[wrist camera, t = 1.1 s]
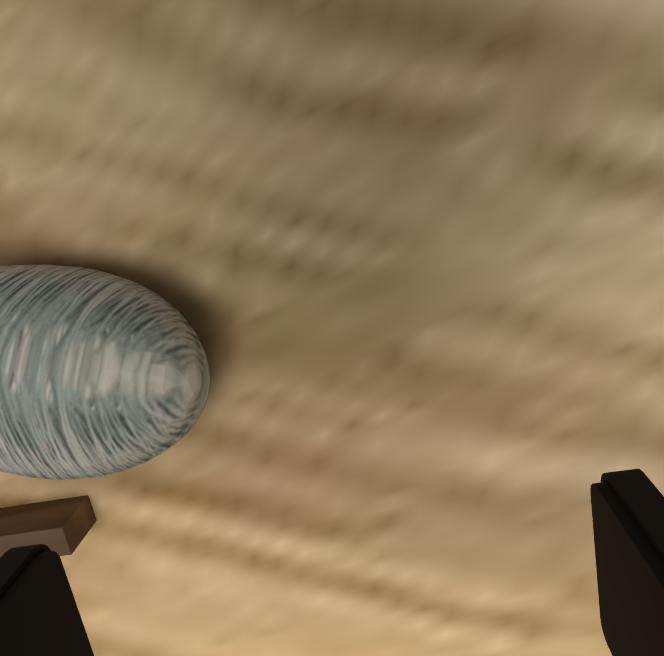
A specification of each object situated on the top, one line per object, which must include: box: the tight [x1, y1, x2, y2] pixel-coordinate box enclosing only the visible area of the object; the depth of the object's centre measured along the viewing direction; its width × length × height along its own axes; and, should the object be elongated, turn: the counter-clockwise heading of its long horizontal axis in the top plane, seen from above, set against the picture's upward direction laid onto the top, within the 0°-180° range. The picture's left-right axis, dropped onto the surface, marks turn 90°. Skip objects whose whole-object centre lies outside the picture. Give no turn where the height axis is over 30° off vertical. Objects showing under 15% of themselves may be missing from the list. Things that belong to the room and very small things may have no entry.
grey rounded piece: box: [0, 264, 210, 479], centre depth 28 cm, size 14×10×10 cm
